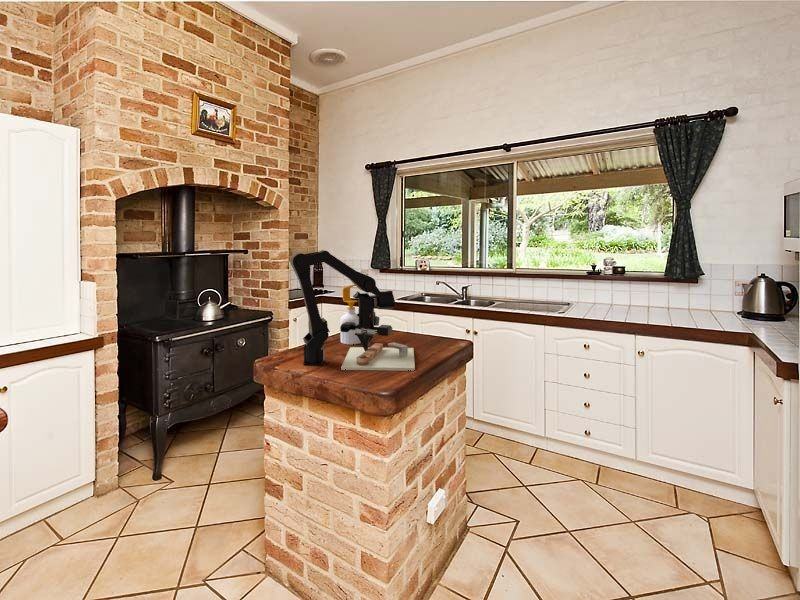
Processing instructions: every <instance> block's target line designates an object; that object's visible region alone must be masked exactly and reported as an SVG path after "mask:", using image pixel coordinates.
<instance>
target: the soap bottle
mask: <svg viewBox="0 0 800 600" xmlns="http://www.w3.org/2000/svg"><path fill="white" fill-rule="evenodd" d="M352 287H356V286H355V285H354V284H350V285H347V286H344V287H343V288H342V300H343V302H344V303H347V305H348V306H347V308H346V311H347V312H346V313H345V314H343V315H342V316H341V317H340V319H339V320H340V321H339V324H340V327H341V325H342V324H343V323H345V322H355V323H356V325H358V324H359V316H357V314H358V313H356V307H354V305H355V303H359V300H358V299H356V300H355V299H352V298H351V288H352ZM340 327H339V328H340ZM339 331H340V330H339ZM355 333H356V330H350V331H349V332H341V331H340V343H341V344H343V345H350V346H352V345H353V344H354V345H359V344H361V342H360V340H359V338H358V337H357V335H355Z"/></svg>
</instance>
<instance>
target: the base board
mask: <svg viewBox="0 0 800 600" xmlns="http://www.w3.org/2000/svg"><path fill="white" fill-rule="evenodd" d="M370 347H371V346H369V348H370ZM369 348H368V349H369ZM414 349H415V348H414V347H408V356H406V357H399V349H396V348H393V347H383V349H382V350H381V351H380V352H379V353H378V354H377V355H376V356H375V357H374V358H372V359H371V360H370V361H369V364H367V365H359V364H357V357H358V356H360V355H362V354H363V353H364V352H365V350H364V348H363V346H362V347H361V346H358V347H357V346H352V347H351V346H350V347H349V349H348V351H347V353H346V356H345V357H344V358H345V359H344V360H343V362H342V364H341V367H340V368H341V369H340V370H341V371H397V372H398V371H399V372H400V371H405V372H407V371H408V370H409V372H410V370H411V372H413V371H414V370H416V369H415V367H416V366H415V352H414V351H415V350H414ZM345 369H346V370H345ZM414 372H415V371H414Z"/></svg>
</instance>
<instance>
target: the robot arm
mask: <svg viewBox="0 0 800 600" xmlns="http://www.w3.org/2000/svg"><path fill="white" fill-rule="evenodd" d="M289 261H290V262H289V263H290V266H291V267H292V270H293V272H294V274H295V276H296V277H297V279H298V283H299V285H300V289H301V293H302V294H301V295H302V297H303V301H304V304H305V308H306V312H307V315H308V322H307V323H308V324H307V325H308V333H306V335H304V337H303V338H302V340H303V343H304V346H303V363H302V365H303V364H310V365H309V366H311V365H312V366H314V365H315V366H321V365H322V364H323V363H324V362H325V359H326V357H325V348H324V344H325V342H326V341H327V340H328V338H329V333H330V331H331V330H329V327H328V321H327V320H326V319H325V318H324V317H322V318H321V315H320V310H319V307H318V303H317V299H316V295H315V291H314V289H313V288H314V286H313V284H312V279H311V271H312V270H311V267H312V266H315V265H320V264H322V263H324V264H325V265H327V266H328V267H330V268H331V269H333V270H335V271H336V272H338V273H339V274H341V275H342V276H344V277H345V278H347V279H349V281H350V282H351V283H352V285H355V286H354V287H356V288H358V290H360V291H362V292H360V291H356V293H355V294H353V295H352V298H354V300H355V299H356V300H358V312H357V313H356V314H357V316H359V324H358V325H356V323H355V322H345V323H343V324H342V325H341V327H339V329H340V330H339V331H341V332H349V331H350V330H356V333H355V335H357V337H358V338H359V340H360V342H361V343H360V344H361V346H362V347H363V348H364V350H365V351H366V350H368V348H369V347H370V345H371V342H372V339H373V338H374V337H375V336H376V335H378V336H385V337H388V336H390V335H391V334H393V327H392V325H389V324H381V325H380V317H379V316H377V314H376V311H375V308H377V310H388V309H395V305H396V300H395V297H394V296H395V295H394V294H393V290H386V291H385V290H382V291H381V290H380V289H379V288H378V287H377V283H376V280H375V278H373V277H372V276H369V275H367V274H364V273H362V272H359V271H357V270H355V269H354V268H352V267H351V266H350V265H348V264H347V263H345V262H344V261H342V260H340V259H339V258H337V257H336V256H335V255H333V254H331V253H330V251H328V250H323V249H322V250H319V251H314V252H309V253H302V252H295V253H293V254H291V257H290V259H289ZM363 292H364V293H363ZM369 293H370V294H372V295H369Z"/></svg>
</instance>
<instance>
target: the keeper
mask: <svg viewBox="0 0 800 600" xmlns="http://www.w3.org/2000/svg"><path fill="white" fill-rule="evenodd" d="M387 347H388V348H396V349H399V357H406V356H408V348H409V346H408V345H406V344H402V343H398V342H395V341H393V342H389V343H387Z"/></svg>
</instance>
